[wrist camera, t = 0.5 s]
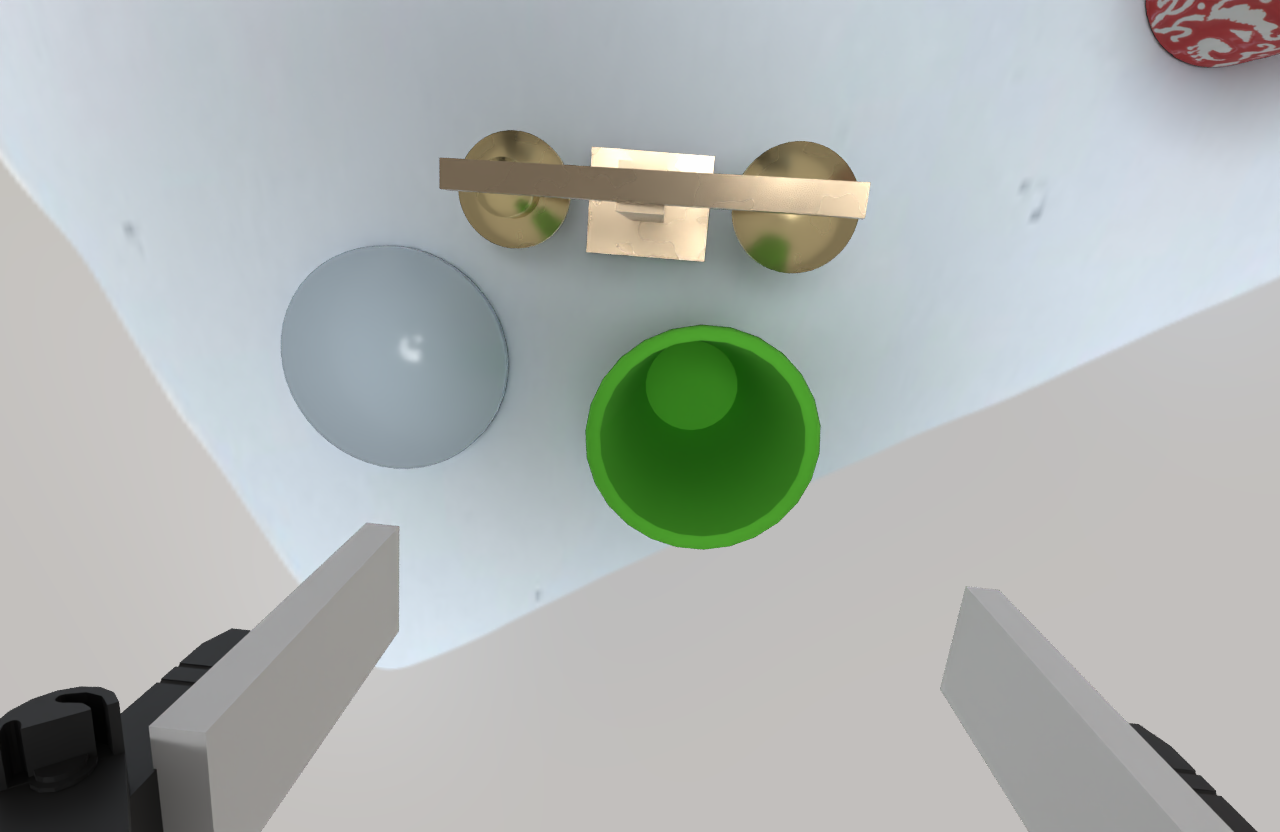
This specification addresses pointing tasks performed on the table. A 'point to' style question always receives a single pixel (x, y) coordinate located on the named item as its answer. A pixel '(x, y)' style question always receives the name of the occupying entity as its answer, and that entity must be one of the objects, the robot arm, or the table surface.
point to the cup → (702, 437)
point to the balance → (662, 199)
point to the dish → (394, 356)
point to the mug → (1216, 29)
